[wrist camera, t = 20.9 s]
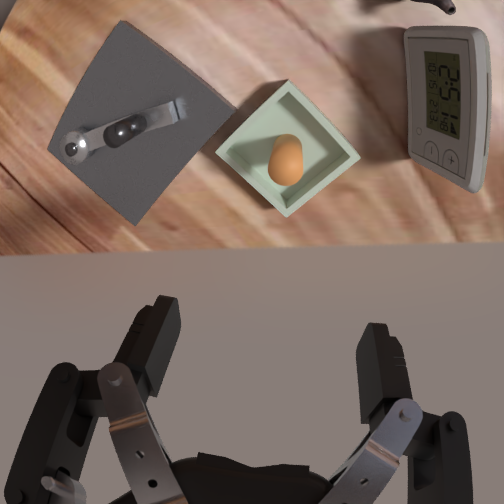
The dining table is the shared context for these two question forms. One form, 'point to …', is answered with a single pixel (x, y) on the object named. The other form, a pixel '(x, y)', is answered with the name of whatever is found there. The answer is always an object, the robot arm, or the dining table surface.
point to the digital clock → (449, 101)
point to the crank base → (132, 101)
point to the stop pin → (286, 160)
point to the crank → (115, 132)
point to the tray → (306, 130)
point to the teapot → (441, 5)
